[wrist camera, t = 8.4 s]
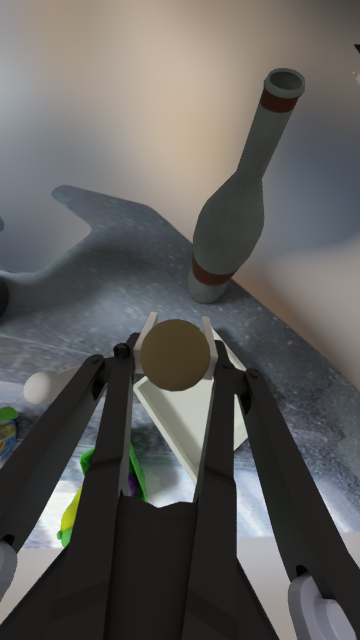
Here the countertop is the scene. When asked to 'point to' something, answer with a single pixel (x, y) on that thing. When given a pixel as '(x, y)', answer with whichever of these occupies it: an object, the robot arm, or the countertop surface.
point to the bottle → (241, 194)
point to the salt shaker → (47, 385)
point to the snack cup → (7, 430)
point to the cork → (175, 355)
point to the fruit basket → (134, 481)
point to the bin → (187, 416)
